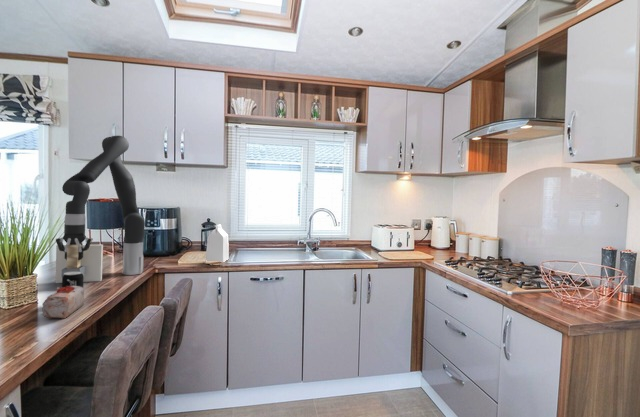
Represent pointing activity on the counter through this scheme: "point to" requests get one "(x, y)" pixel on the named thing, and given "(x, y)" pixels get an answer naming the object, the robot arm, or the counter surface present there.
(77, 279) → the beverage can
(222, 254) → the milk
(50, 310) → the food item
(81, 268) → the white upright panel
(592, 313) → the counter surface
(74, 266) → the rail post
